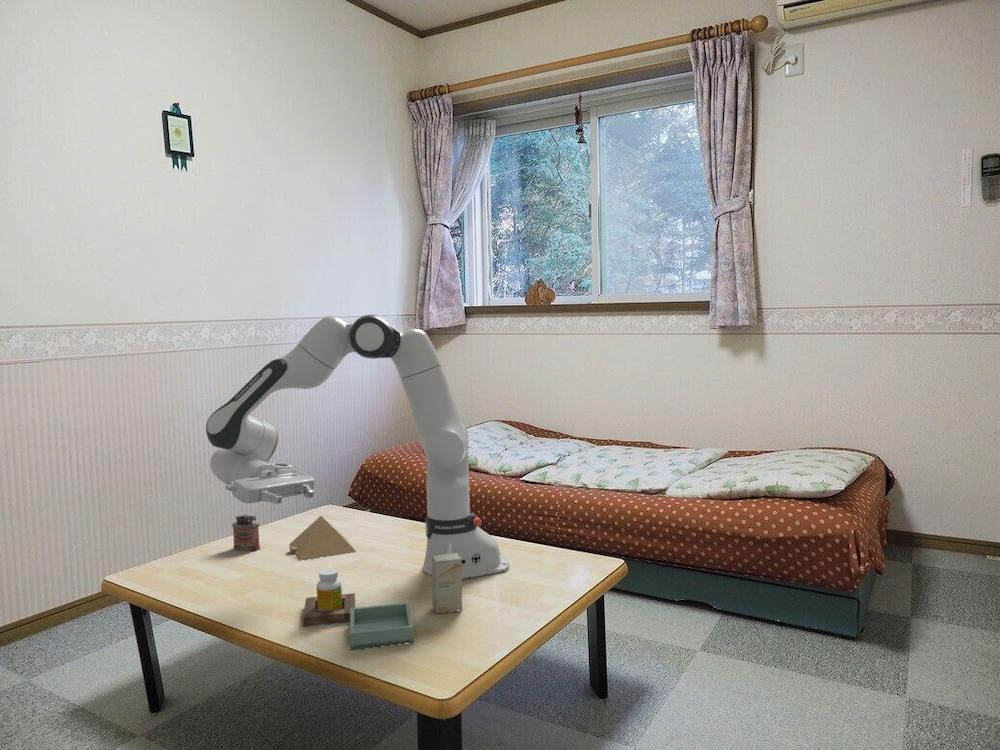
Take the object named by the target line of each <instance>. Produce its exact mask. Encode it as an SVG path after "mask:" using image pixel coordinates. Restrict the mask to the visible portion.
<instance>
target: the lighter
mask: <svg viewBox="0 0 1000 750" xmlns="http://www.w3.org/2000/svg"><path fill="white" fill-rule="evenodd" d="M254 521H255V522H254ZM256 521H257V516H256V515H252V514H251V515H248V514H246V513H245V514H242V515H236V516H235V521H234V522H232V524H231V526H232V532H233V547H232V548H233V550H234V549H236V550H235V551H239V550H244V551H243V552H258V551H260V550H261V545H260V535H259V534H260V532H259V527H260V523H259V522H256ZM257 550H258V551H257Z"/></svg>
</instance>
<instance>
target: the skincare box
mask: <svg viewBox="0 0 1000 750" xmlns="http://www.w3.org/2000/svg"><path fill="white" fill-rule="evenodd" d="M462 580H463V579H462V569H461V557H460V556H459V554H458V553H452V554H442V555H432V575H431V587H432V588H431V594H432V595H431V600H432V601H431V602H432V606H431V607H432V610H433V611H434V613H435V614H437V615H439V613H440V614H446V613H445V612H449V613H454V612H453V611H457V610H462V611H463V594H462V593H463V592H462V591H463V589H462V588H463V586H462V585H463V583H462V582H463V581H462ZM457 612H458V611H457Z"/></svg>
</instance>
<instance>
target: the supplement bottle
mask: <svg viewBox="0 0 1000 750" xmlns="http://www.w3.org/2000/svg"><path fill="white" fill-rule="evenodd" d="M318 573H319V574H318V575H319V576H318V577H319V580H318V581H317V583H316V597H317V605H318V609H317V612H322V611H332V610H342V609H343V607H342V593H343V591H342V581H341V579H340V578H338V577H339V576H338V574H339V573H338V570H337V569H335V568H325V569H322V570H320V571H319V572H318Z"/></svg>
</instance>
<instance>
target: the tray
mask: <svg viewBox="0 0 1000 750" xmlns="http://www.w3.org/2000/svg"><path fill="white" fill-rule="evenodd" d="M349 625H350V626H349V629H350V630H349V638H350V651H356V650H355V649H360V650H366V649H365V648H369V649H374V648H373V647H378V648H382V647H381V646H387V647H391V646H390V645H396V646H399V645H398V644H405V643H414V644H415V633H414V632H415V631H414V628H415V627H414V622H413V617H412V611H411V607H410V602H401V603H391V604H390V603H389V604H382V605H381V604H380V605H379V604H378V605H372V606H371V605H370V606H363V607H362V606H360V607H359V606H358V607H355V608H350V622H349ZM405 645H406V644H405Z"/></svg>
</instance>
